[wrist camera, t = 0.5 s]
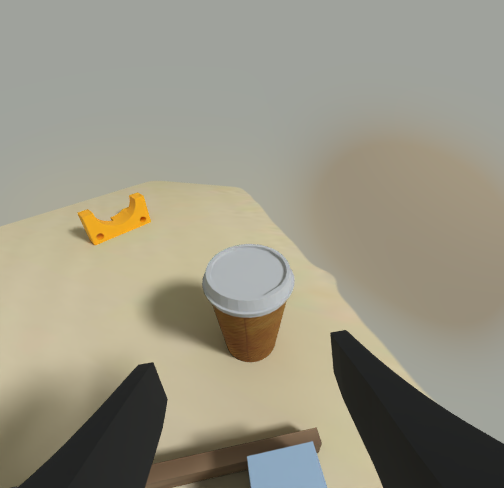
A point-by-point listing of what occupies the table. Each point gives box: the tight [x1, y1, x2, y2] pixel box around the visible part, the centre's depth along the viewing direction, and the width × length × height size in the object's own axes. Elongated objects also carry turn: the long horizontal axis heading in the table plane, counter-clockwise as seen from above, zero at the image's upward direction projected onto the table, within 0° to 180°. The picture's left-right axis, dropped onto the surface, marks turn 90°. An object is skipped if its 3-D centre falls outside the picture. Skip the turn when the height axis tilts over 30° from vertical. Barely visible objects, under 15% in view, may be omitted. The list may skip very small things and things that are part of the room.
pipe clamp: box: [78, 193, 151, 245], centre depth 54 cm, size 12×4×6 cm, turn 136°
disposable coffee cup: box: [202, 244, 294, 362], centre depth 30 cm, size 10×10×12 cm
